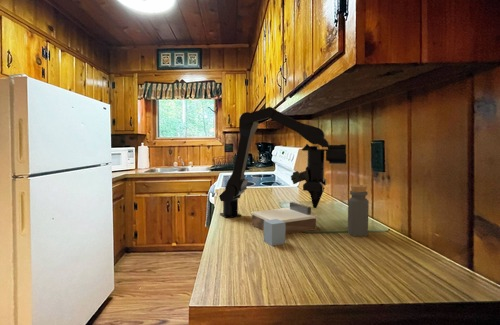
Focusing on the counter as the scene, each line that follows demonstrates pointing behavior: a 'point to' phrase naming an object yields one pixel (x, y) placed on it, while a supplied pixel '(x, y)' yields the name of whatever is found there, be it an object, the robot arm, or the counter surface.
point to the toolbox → (288, 225)
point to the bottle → (358, 211)
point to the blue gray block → (274, 232)
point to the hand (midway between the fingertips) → (314, 207)
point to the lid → (287, 213)
